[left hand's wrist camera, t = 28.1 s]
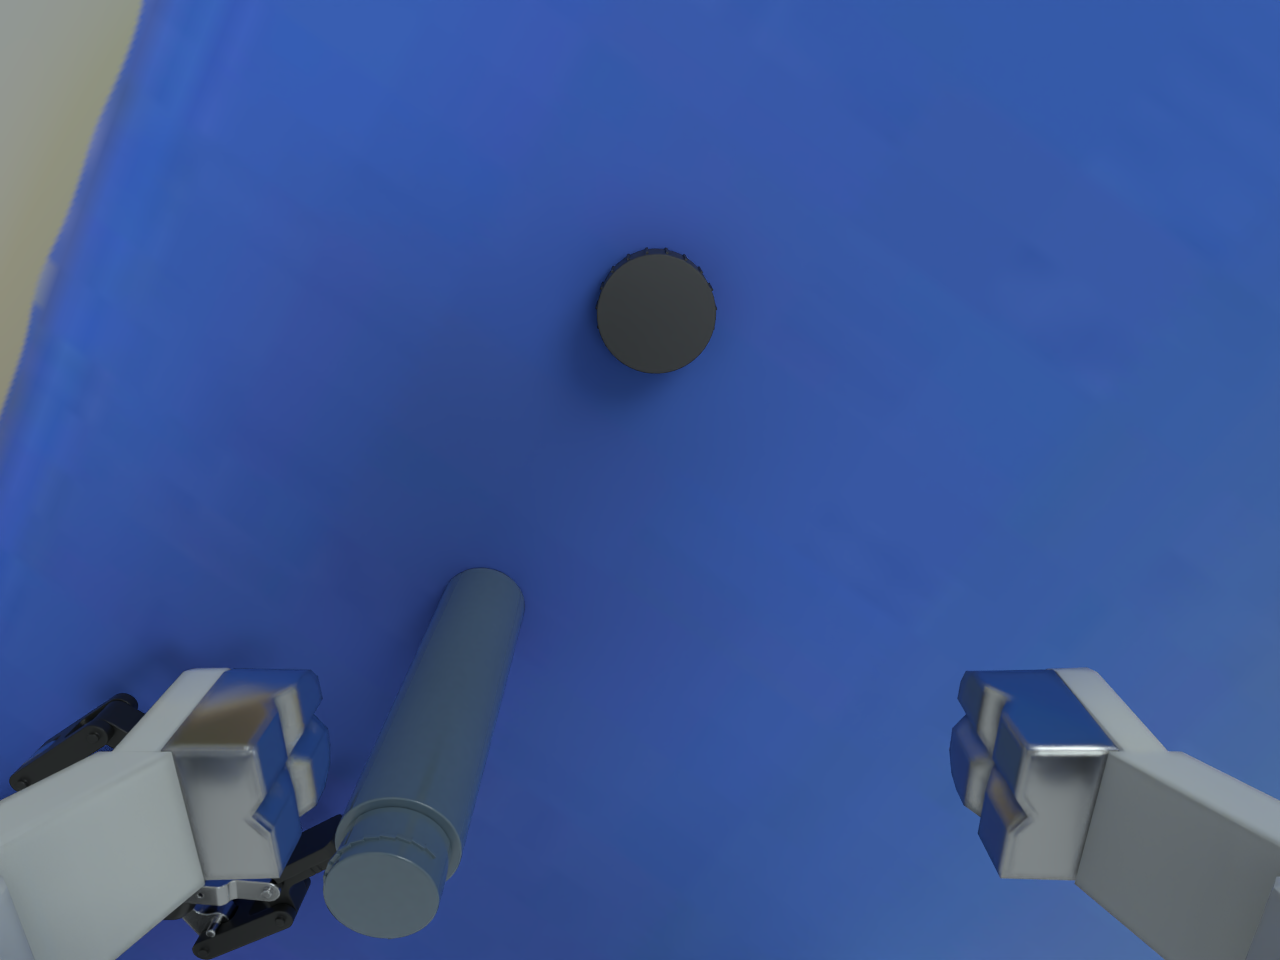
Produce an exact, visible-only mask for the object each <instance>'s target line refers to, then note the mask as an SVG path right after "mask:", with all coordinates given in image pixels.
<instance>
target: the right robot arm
mask: <svg viewBox="0 0 1280 960" xmlns="http://www.w3.org/2000/svg"><path fill="white" fill-rule="evenodd" d="M137 709H138V703H137V701H136V699H135V698H134V697H132V696H131V695H129V694H125V693H119V694H117V695H115V696H114V697H112V698H111V699H109V700H108V701H106V702H105V703H103V704H102V705H100V706H99V707H97V708H96V709H94V710H93V711H91V712H90V713H88V714H87V715H85V716H84V717H82V718H81V719H79V720H78V721H76V722H75V723H73V724H72V725H70V726H69V727H67V728H66V729H64V730H63V731H61V732H60V733H58V734H57V735H55V736H54V737H52V738H51V739H49V740H48V741H46V742H45V743H44V744H43V745H42V746H41V747H40V748H39V749H38V750H37V751H36V752H35V753H34V754H33V755H32V756H31V757H30V758H29V759H28V760H27V761H26V762H25V763H24V764H23V765H22V766H21V767H20V768H19V769H18V770H17V771H16V772H15V773H14V774H13V775H12V776H11V777H10V780H9V782H10V785H11V787H12V788H13V789H14V790H16V791H17V792H19V791H21V790H23V789H25V788H27V787H29V786H31V785H33V784H35V783H37V782H39V781H41V780H43V779H45V778H47V777H49V776H51V775H53V774H55V773H57V772H59V771H61V770H63V769H65V768H67V767H69V766H71V765H73V764H75V763H77V762H79V761H81V760H83V759H85V758H86V757H88V756H89V755H91V754H92V753H94V752H95V751H97V750H98V749H100V748H102V747H103V746H105V745H108V746H110V747H112V748H114V749H115V747H116V746H117V745H118V744H119V743H120V742H121V741H122V740H123V738H124V737H125V736H126V735H127V734H128V733H129V732H130V731H131V730H132V728H133V727H134V726H135V725H136V724H137V723H138V722H139V721H140V720H141V718H142V717H143V716H144V715H145V714H144V713H143V712H141V711H139V710H137ZM341 818H342V815H341V814H339V815H336V816H334V817H332V818H330V819H328V820H326V821H324V822H322V823H320V824H318V825H316V826H314V827H312V828H310V829H308V830H306V831H304V832H302V835H301V837H300V839H299V841H298V843H297V845H296V847H295V849H294V851H293V853H292V855H291V857H290V859H289V861H288V863H287V865H286V866H285V868H284V870H283V872H282V874H281V876H280V878H266V879H231V880H204V881H205V885H204V886H202V887H201V888H200V889H199V890H198V891H196V892H195V893H194V894H193V895H192V896H191V897H189V898H188V899H187V900H186V901H185V902H183V903H182V904H181V905H180V906H179V907H177V908H176V909H175V910H174V911H173V912H171V913H170V914H169V915H168V916H167V917H165V918H164V919H163V920H176V919H180V918H183V919H184V920H185V921H186V922H187V923H188V924H189V926H190V927H191V928H192V929H193V930H194V931H195V932H196V933H197V934H198V935H199V937H198V939H197V941H196V943H195V944H194V946H193V948H192V951H193V953H194V955H195V956H197V957H198V958H201V959H205V960H208V959H212V958H215V957H217V956H220V955H222V954H225V953H227V952H229V951H232V950H234V949H237V948H239V947H242V946H244V945H247V944H249V943H252V942H254V941H257V940H259V939H262V938H264V937H267V936H269V935H272V934H274V933H277V932H279V931H281V930H284V929H286V928H289V927H290V926H291V925H292V923H293V921H294V919H295V917H296V914H297V912H298V910H299V908H300V906H301V903H302V901H303V899H304V897H305V895H306V892H307V890H308V888H309V886H310V883H311V881H310V878H309V877H311V876H313V875H315V874H316V873H319V872H321V871H322V870H325V869H326V867H327V865H328V862H329V860H330V859H331V857H332V856H333V855H334V854H335V853H336V852H337V851H336V846H335V834H336V830H337V827H338V824H339V822H340V820H341Z"/></svg>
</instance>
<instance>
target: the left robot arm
mask: <svg viewBox="0 0 1280 960" xmlns="http://www.w3.org/2000/svg"><path fill="white" fill-rule="evenodd" d="M322 699H323V698H322V694H321V689H320V684H319V679H318V676H317V675H316V674H315V673H314V672H313V671H311V670H296V669H249V668H233V669H230V668H193V669H190V670H187V671H184V672H183V673H182V674H181V675H180V676H179V677H178V678H177V679H176V680H175V682H174V683H173V684H172V685H171V686H170V687H169V688H168V689H167V691H166V692H165V693H164V694H163V695H162V696H161V697H160V698H159V699H158V701H157V702H156V703H155V704H154V705H153V706H152V707H151V708H150V709H149V711H148V712H147V713H146V714H145V715H144V716H143V717H142V718H141V720H140V721H139V722H138V723H137V724H136V725H135V726H134V727H133V728H132V730H131V731H130V732H129V733H128V734H127V735H126V736H125V737H124V738H123V740H122V741H121V742H120V743H119V744H118V745H117V746H116V747H115V749H114V750H113V751H112V752H97V753H95V754H93V755H91V756H89V757H87V758H85V759H83V760H81V761H79V762H77V763H75V764H73V765H71V766H69V767H67V768H65V769H63V770H61V771H59V772H57V773H55V774H53V775H51V776H49V777H47V778H45V779H43V780H41V781H39V782H37V783H35V784H33V785H31V786H29V787H27V788H25V789H23V790H21V791H19V792H17V793H15V794H13V795H11V796H9V797H7V798H5V799H3V800H1V801H0V960H115V959H116V958H118V957H119V956H120V955H121V954H122V953H124V952H125V951H126V950H127V949H128V948H130V947H131V946H132V945H133V944H134V943H136V942H137V941H138V940H139V939H140V938H142V937H143V936H144V935H145V934H146V933H148V932H149V931H150V930H151V929H152V928H154V927H155V926H156V925H157V924H158V923H159V922H161V921H162V920H163V919H164V918H165V917H167V916H168V915H169V914H170V913H171V912H173V911H174V910H175V909H176V908H177V907H179V906H180V905H181V904H182V903H183V902H185V901H186V900H187V899H188V898H189V897H191V896H192V895H193V894H194V893H195V892H196V891H198V890H199V889H200V888H201V887H202V886H204V885H205V881H204V880H231V879H266V878H280V876H281V874H282V872H283V870H284V868H285V866H286V865H287V863H288V861H289V859H290V857H291V855H292V853H293V851H294V849H295V847H296V845H297V843H298V841H299V839H300V837H301V835H302V829H301V824H300V818H299V817H300V816H302V815H303V814H305V813H306V812H307V811H309V810H310V809H312V808H313V807H314V806H316V805H317V803H318V801H319V798H320V796H321V794H322V792H323V790H324V788H325V784H326V780H327V775H328V770H329V766H330V740H329V734H328V728H327V727H326V726H325V725H324V724H323V723H322V722H321V721H320V720H319V719H318V718H317V717H316V716H315V715H314V713H315V711H316V709H317V707H318V706H319V704H320V702H321V701H322ZM957 699H958V700H959V702H960V704H961V706H962V707H963V709H964V711H965V713H966V715H965V716H964V717H963V718H962V719H961V720H960V721H959V722H958V723H957V724H956V725H955V726H954V727H953V728H952V735H951V743H950V750H949V751H950V763H951V773H952V777H953V780H954V784H955V787H956V790H957V792H958V794H959V796H960V799H961V801H962V803H963V805H964V806H966V807H967V808H968V809H970V810H971V811H973V812H974V813H975V814H977V815H978V816H980V817H981V818H980V824H979V829H978V835H979V837H980V839H981V841H982V843H983V845H984V847H985V849H986V851H987V853H988V855H989V857H990V858H991V860H992V862H993V864H994V866H995V868H996V870H997V872H998V874H999V876H1000V878H1012V879H1048V880H1075V884H1076V885H1077V886H1078V887H1079V888H1080V889H1082V890H1083V891H1084V892H1085V893H1086V894H1087V895H1089V896H1090V897H1091V898H1092V899H1093V900H1095V901H1096V902H1097V903H1098V904H1099V905H1101V906H1102V907H1103V908H1104V909H1105V910H1107V911H1108V912H1109V913H1110V914H1111V915H1112V916H1114V917H1115V918H1116V919H1117V920H1118V921H1120V922H1121V923H1122V924H1123V925H1124V926H1126V927H1127V928H1128V929H1129V930H1130V931H1132V932H1133V933H1134V934H1135V935H1136V936H1138V937H1139V938H1140V939H1141V940H1142V941H1143V942H1145V943H1146V944H1147V945H1148V946H1149V947H1151V948H1152V949H1153V950H1154V951H1155V952H1157V953H1158V954H1159V955H1160V956H1161V957H1163V958H1164V959H1165V960H1280V801H1279V800H1277V799H1275V798H1273V797H1271V796H1269V795H1267V794H1265V793H1263V792H1261V791H1259V790H1257V789H1255V788H1253V787H1251V786H1249V785H1247V784H1245V783H1243V782H1241V781H1239V780H1237V779H1235V778H1233V777H1231V776H1229V775H1227V774H1225V773H1223V772H1221V771H1219V770H1217V769H1215V768H1213V767H1211V766H1209V765H1207V764H1205V763H1203V762H1201V761H1199V760H1197V759H1195V758H1193V757H1191V756H1189V755H1187V754H1185V753H1183V752H1168V751H1167V750H1166V749H1165V747H1164V746H1163V745H1162V744H1161V743H1160V742H1159V741H1158V740H1157V738H1156V737H1155V736H1154V735H1153V734H1152V733H1151V732H1150V731H1149V730H1148V728H1147V727H1146V726H1145V725H1144V724H1143V723H1142V722H1141V721H1140V720H1139V718H1138V717H1137V716H1136V715H1135V714H1134V713H1133V712H1132V711H1131V709H1130V708H1129V707H1128V706H1127V705H1126V704H1125V703H1124V702H1123V701H1122V699H1121V698H1120V697H1119V696H1118V695H1117V694H1116V693H1115V692H1114V690H1113V689H1112V688H1111V687H1110V686H1109V685H1108V684H1107V683H1106V682H1105V680H1104V679H1103V678H1102V677H1101V676H1100V675H1099V674H1098V673H1097V672H1096V671H1093V670H1091V669H1089V668H1087V667H1086V668H1056V669H1046V670H990V671H966V672H965V674H964V676H963V678H962V680H961V682H960V687H959V693H958V698H957Z"/></svg>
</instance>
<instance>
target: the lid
mask: <svg viewBox="0 0 1280 960" xmlns="http://www.w3.org/2000/svg"><path fill="white" fill-rule="evenodd" d="M702 273H703V272H702V270H701V268H700V267H697V266H696V265H695V264H694V263H693V262H691V261H690V260H689V259H688V258H687V257H686V255H685V254H683V255H681V254H678V253H676V252H673V251H670V250H668V248H665V249H648V248H646V250H642V251H639V252H636V253H633V254H631V255H630V254H627V257H626V258H624V259H623V260H622V261H620V262H619V263H618V264H617V265H616V266H612V269H611V272H610V273H609V275H608V276H607V278H606V280H605V282H602V284H601V288H600V290H601V293H600V297H599V301H597V304H596V309H597V322H598V326H597V328H598V329H599V331H600V335H601V337H602V339H603V342H604V343H605V346H606V347H607V348H608V349H609V351H610V352H611V353H612V354H613V355H614V356H615V357H616V358H617V359H618V360H619V361H620V362H622V363H623V364H625V365H627V366H628V367H630V368H632V369H635V370H637V371H641V372H645V373H667V372H671V371H675V370H677V369H680V368H682V367H684V366H686V365H687V364H689V363H690V362H692V361H693V360H694V359H695V358H696V357H697V356H699V355H700V353H701V352H702V351H703V350H704V349H705V347H706V345H707V344H708V342H709V340H710V338H711V336H712V333H713V330H714V326H715V320H716V310H717V307H716V305H715V301H714V296H713V294H712V291H713V289H712V287H711V285H710V283H707V281H706V279H705V277H704V275H703V274H702Z"/></svg>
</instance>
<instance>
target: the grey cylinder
mask: <svg viewBox="0 0 1280 960" xmlns="http://www.w3.org/2000/svg"><path fill="white" fill-rule="evenodd" d="M524 610H525V603H524V598H523V595H522V592H521V590H520V589H519V587H518V586H517V584H516V583H515V582H514V581H513V580H512V579H511V578H509V577H508V576H507V575H505V574H503V573H501V572H499V571H496V570H493V569H488V568H474V569H469V570H466V571H464V572H461V573H460V574H458V575H456V576H455V577H454V578H453V579H452V580H451V581H450V582H449V583H448V585H447V586H446V588H445V591H444V593H443V595H442V597H441V599H440V602H439V604H438V606H437V608H436V610H435V613H434V615H433V617H432V619H431V621H430V624H429V626H428V628H427V630H426V632H425V635H424V637H423V639H422V641H421V643H420V646H419V648H418V650H417V652H416V655H415V657H414V659H413V661H412V663H411V666H410V668H409V670H408V672H407V674H406V677H405V679H404V681H403V683H402V685H401V688H400V690H399V692H398V694H397V696H396V699H395V701H394V703H393V705H392V707H391V710H390V712H389V714H388V716H387V719H386V721H385V723H384V725H383V727H382V730H381V732H380V734H379V736H378V738H377V741H376V743H375V745H374V747H373V749H372V752H371V754H370V756H369V758H368V760H367V763H366V765H365V767H364V769H363V771H362V774H361V776H360V778H359V780H358V783H357V785H356V787H355V789H354V791H353V794H352V796H351V798H350V800H349V802H348V805H347V807H346V809H345V811H344V813H343V816H342V818H341V820H340V822H339V824H338V827H337V830H336V834H335V846H336V851H337V852H336V853H335V854H334V855H333V856H332V857H331V859H330V860H329V862H328V865H327V867H326V870H325V873H324V876H323V881H324V886H323V893H324V899H325V903H326V905H327V907H328V909H329V910H330V912H331V913H332V915H333V916H334V917H335V918H336V919H337V920H338V921H339V922H340V923H342V924H343V925H345V926H346V927H348V928H349V929H351V930H353V931H355V932H358V933H360V934H363V935H366V936H370V937H376V938H388V939H393V938H399V937H404V936H408V935H411V934H413V933H415V932H417V931H419V930H421V929H422V928H424V927H425V926H426V925H427V924H428V923H430V921H431V920H432V919H433V918H434V916H435V914H436V912H437V910H438V907H439V903H440V899H441V896H442V892H443V888H444V885H445V882H446V881H447V880H448V879H449V878H450V877H451V876H452V875H453V874H454V872H455V871H456V870H457V868H458V866H459V864H460V861H461V857H462V853H463V849H464V846H465V842H466V838H467V834H468V830H469V826H470V822H471V818H472V814H473V810H474V807H475V803H476V799H477V795H478V791H479V787H480V783H481V779H482V775H483V771H484V768H485V764H486V760H487V756H488V752H489V748H490V744H491V740H492V736H493V732H494V729H495V725H496V721H497V717H498V713H499V709H500V705H501V701H502V697H503V693H504V689H505V686H506V682H507V678H508V674H509V670H510V666H511V662H512V658H513V654H514V650H515V647H516V643H517V639H518V635H519V631H520V627H521V623H522V619H523V615H524Z"/></svg>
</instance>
